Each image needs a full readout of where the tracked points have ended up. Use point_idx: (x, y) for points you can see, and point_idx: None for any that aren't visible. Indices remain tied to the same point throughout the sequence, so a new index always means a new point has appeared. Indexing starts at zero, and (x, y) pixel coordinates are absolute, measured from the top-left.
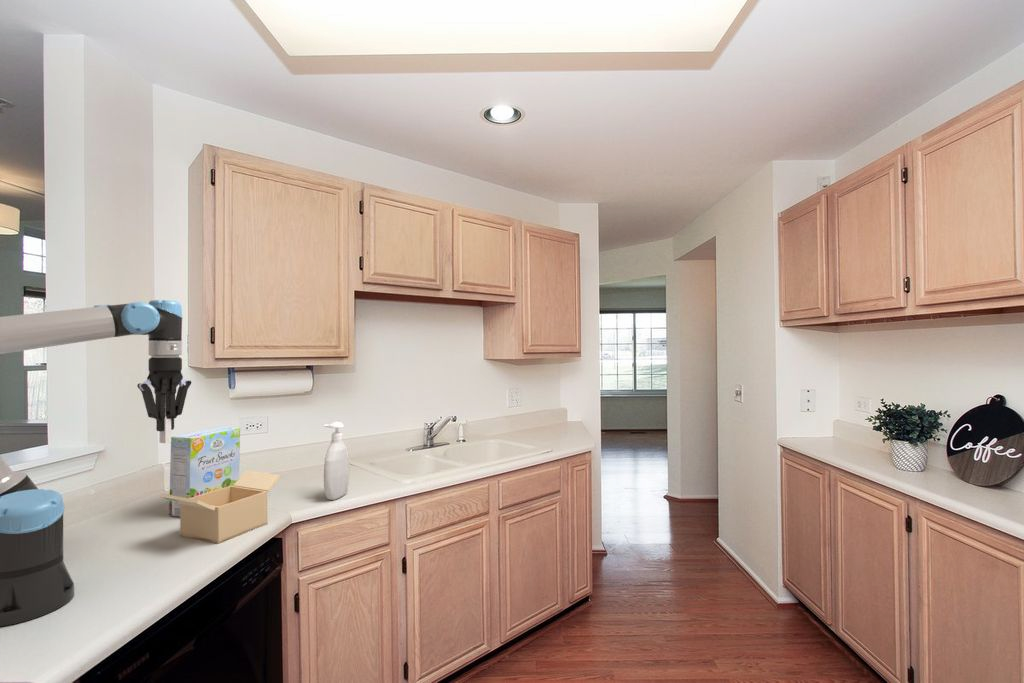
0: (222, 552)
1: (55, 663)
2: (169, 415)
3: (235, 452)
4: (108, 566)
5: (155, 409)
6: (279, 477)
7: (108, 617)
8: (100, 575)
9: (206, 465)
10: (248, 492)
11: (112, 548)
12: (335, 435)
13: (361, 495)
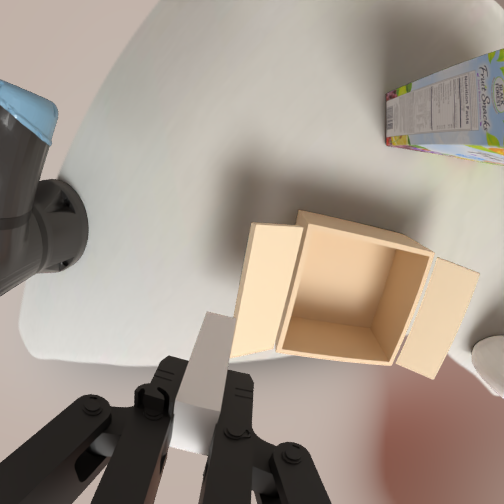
0: None
1: (35, 350)
2: (208, 462)
3: None
4: (153, 205)
5: (80, 482)
6: (429, 376)
7: (76, 337)
8: (128, 226)
9: (486, 157)
10: (405, 313)
11: (215, 131)
12: None
13: None
